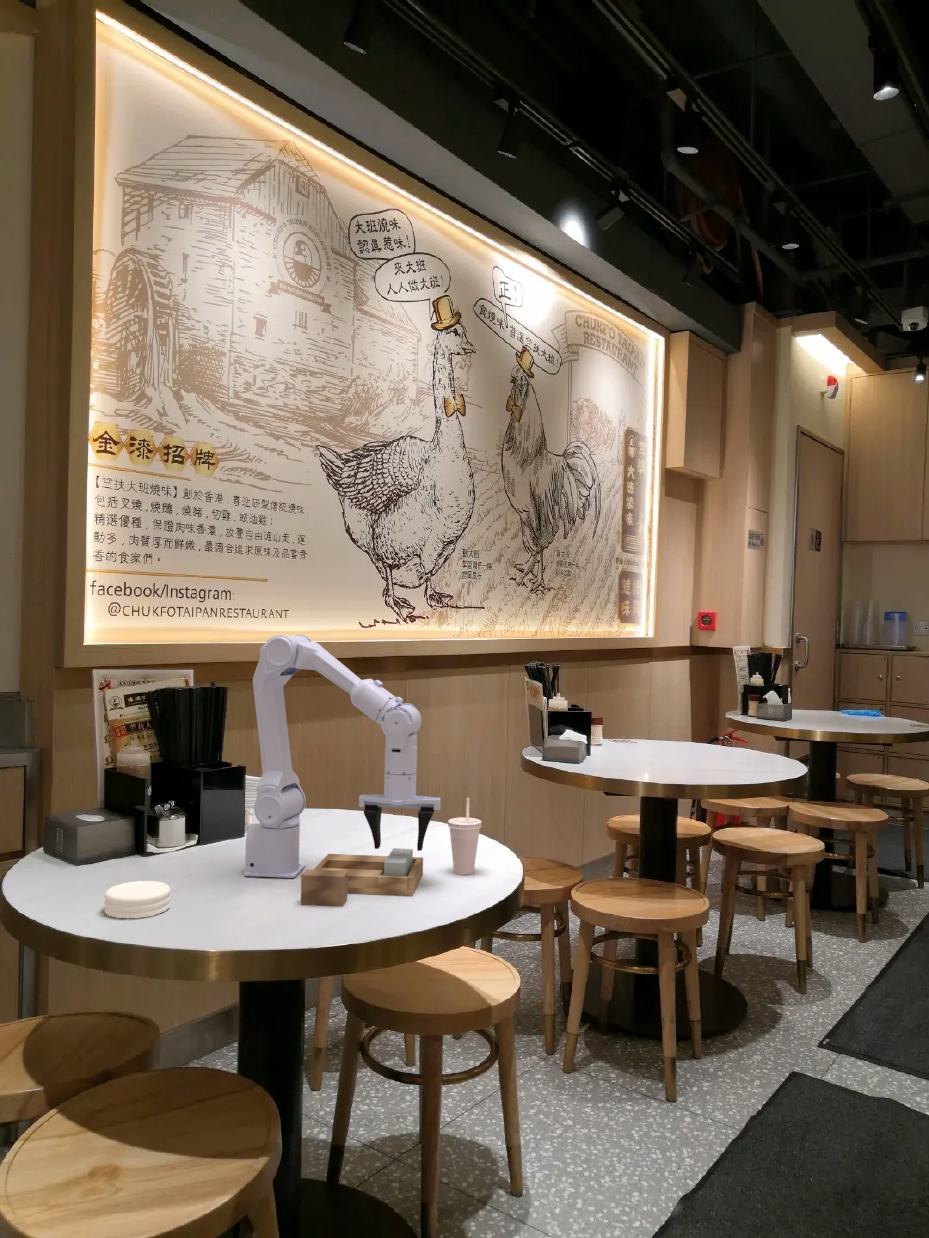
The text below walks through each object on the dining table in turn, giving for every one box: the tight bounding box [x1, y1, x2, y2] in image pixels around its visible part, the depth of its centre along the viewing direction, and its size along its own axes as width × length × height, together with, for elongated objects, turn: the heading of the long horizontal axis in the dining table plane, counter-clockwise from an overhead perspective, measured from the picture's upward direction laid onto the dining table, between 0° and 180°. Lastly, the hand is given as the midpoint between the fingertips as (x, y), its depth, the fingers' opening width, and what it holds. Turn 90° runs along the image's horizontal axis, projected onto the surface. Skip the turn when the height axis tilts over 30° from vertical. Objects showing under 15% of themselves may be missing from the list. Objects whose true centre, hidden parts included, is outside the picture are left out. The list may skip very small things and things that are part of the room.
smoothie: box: [447, 797, 482, 876], centre depth 167 cm, size 6×6×14 cm
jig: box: [313, 853, 424, 897], centre depth 159 cm, size 18×14×3 cm
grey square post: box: [384, 847, 414, 877], centre depth 159 cm, size 4×10×4 cm, turn 176°
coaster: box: [103, 880, 172, 918], centre depth 142 cm, size 10×10×4 cm
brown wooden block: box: [300, 868, 348, 908], centre depth 147 cm, size 7×3×5 cm, turn 85°
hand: (398, 848), depth 159 cm, fingers open, 7 cm apart
